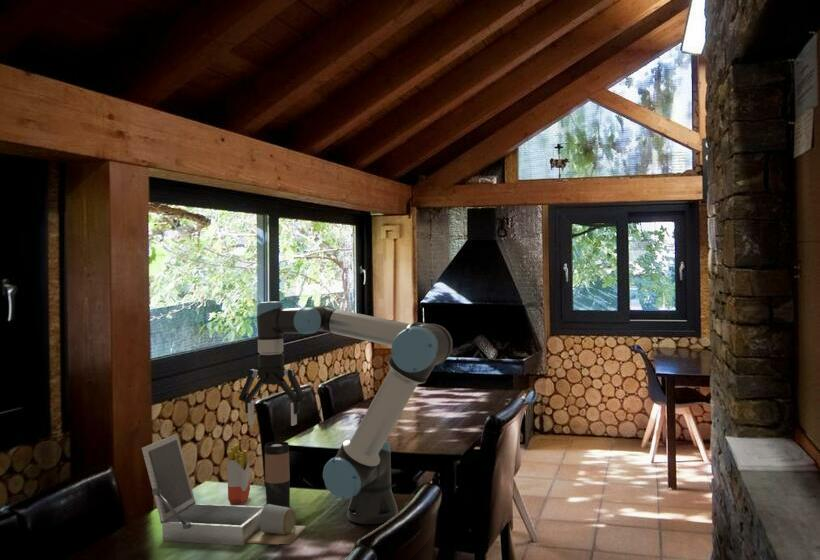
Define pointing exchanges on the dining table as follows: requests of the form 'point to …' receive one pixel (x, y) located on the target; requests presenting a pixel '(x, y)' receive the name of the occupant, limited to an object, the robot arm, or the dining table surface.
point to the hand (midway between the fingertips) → (272, 424)
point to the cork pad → (277, 536)
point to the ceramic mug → (277, 519)
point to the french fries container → (238, 475)
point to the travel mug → (277, 474)
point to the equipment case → (192, 502)
